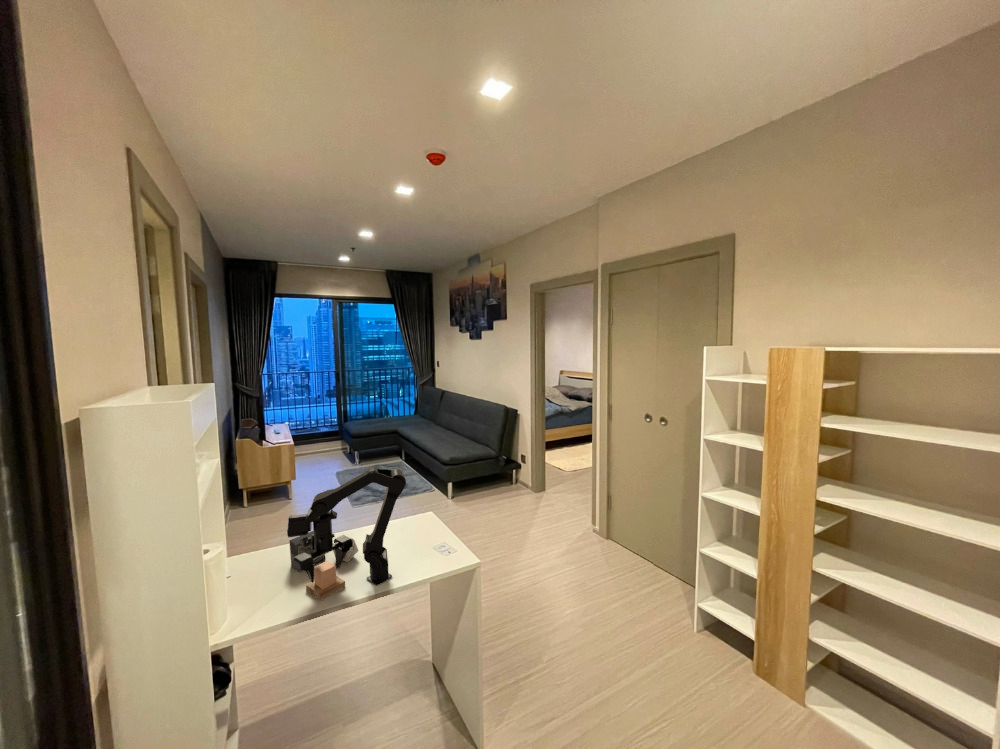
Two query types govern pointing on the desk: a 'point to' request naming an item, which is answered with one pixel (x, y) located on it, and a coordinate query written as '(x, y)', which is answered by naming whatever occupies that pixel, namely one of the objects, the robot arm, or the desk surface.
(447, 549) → the desk surface
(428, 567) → the desk surface
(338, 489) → the robot arm
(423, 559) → the desk surface
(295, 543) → the small box
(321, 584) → the terracotta cube
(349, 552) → the die
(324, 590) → the walnut slab
